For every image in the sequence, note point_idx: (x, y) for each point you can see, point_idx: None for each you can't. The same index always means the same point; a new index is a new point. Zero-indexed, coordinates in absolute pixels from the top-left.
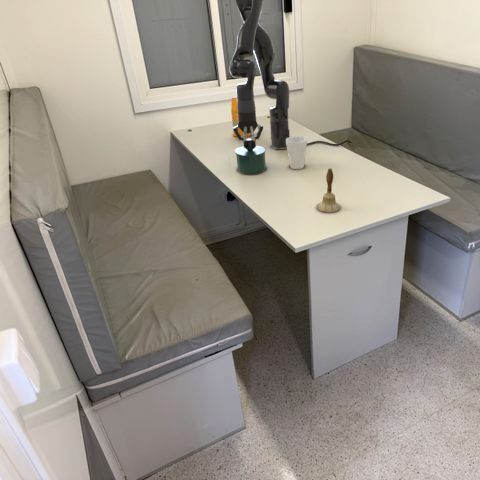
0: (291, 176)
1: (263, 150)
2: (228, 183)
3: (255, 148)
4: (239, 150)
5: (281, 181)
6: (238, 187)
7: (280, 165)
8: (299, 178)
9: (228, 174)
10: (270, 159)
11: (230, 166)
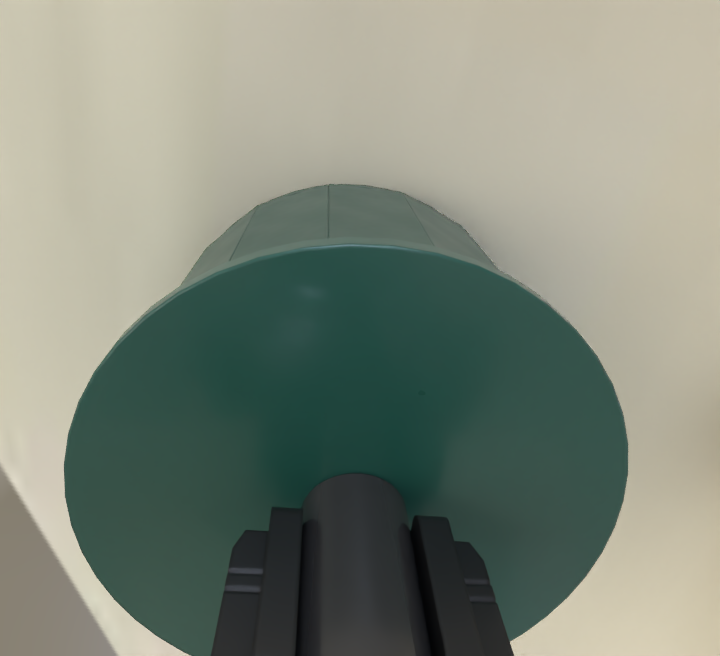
0: (641, 578)
1: (564, 569)
2: (83, 580)
3: (469, 460)
4: (154, 477)
5: (524, 634)
6: (171, 652)
7: (684, 327)
8: (677, 619)
9: (70, 404)
10: (674, 79)
11: (81, 169)
